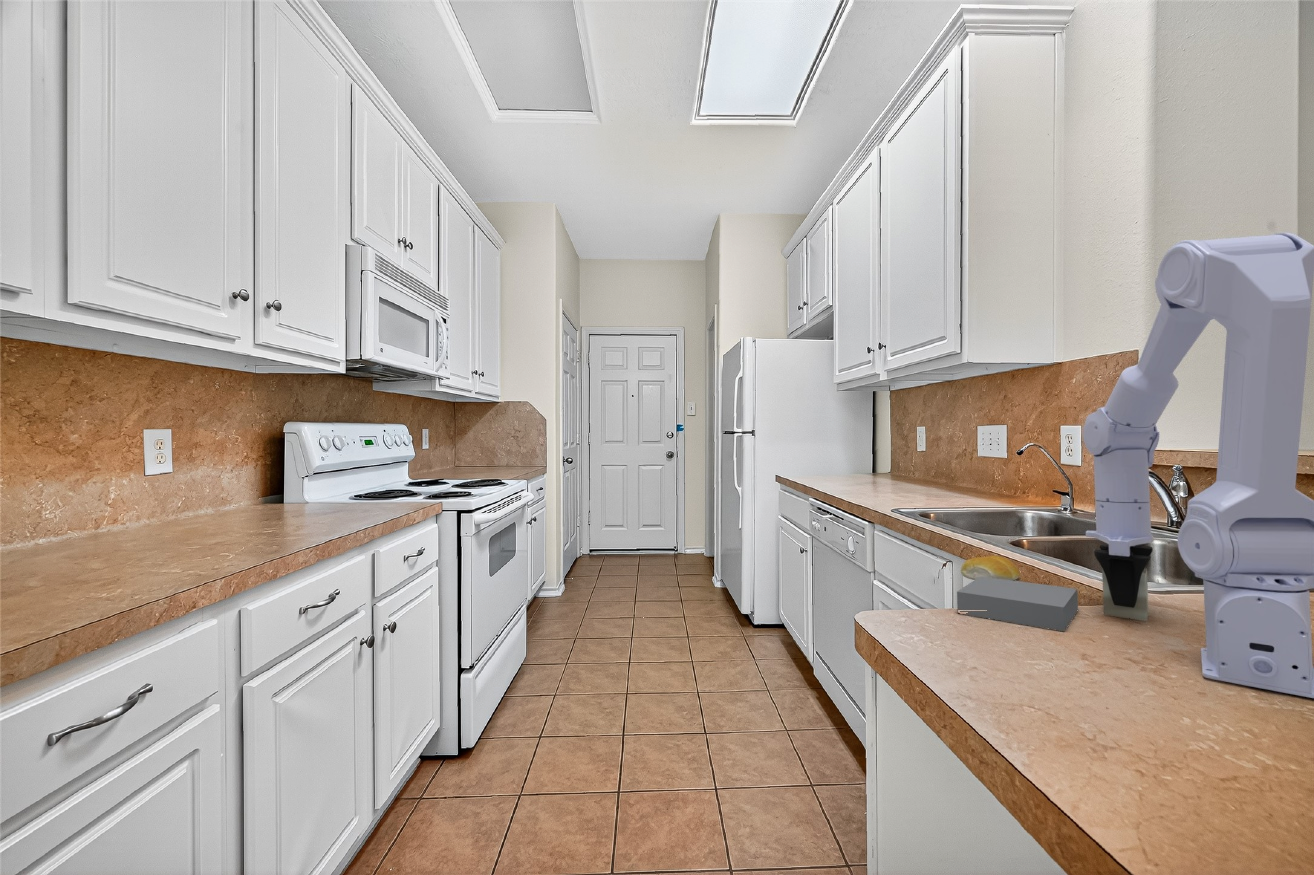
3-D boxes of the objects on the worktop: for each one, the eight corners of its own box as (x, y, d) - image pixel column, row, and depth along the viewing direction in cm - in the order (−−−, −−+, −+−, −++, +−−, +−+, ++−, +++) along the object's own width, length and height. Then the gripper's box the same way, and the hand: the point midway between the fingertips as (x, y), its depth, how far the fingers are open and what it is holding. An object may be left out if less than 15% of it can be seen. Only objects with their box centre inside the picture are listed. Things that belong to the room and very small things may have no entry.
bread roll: (1026, 578, 97) (1026, 555, 97) (1002, 586, 92) (1001, 562, 92) (977, 570, 104) (976, 549, 104) (952, 577, 99) (951, 555, 99)
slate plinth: (1064, 631, 69) (1063, 607, 69) (957, 613, 77) (956, 591, 77) (1078, 610, 77) (1077, 588, 77) (980, 596, 86) (980, 576, 86)
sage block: (1147, 621, 72) (1145, 574, 72) (1103, 614, 75) (1102, 570, 75) (1148, 613, 75) (1146, 568, 76) (1107, 607, 78) (1105, 564, 79)
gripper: (1091, 496, 84) (1094, 587, 83) (1077, 503, 73) (1081, 608, 73) (1154, 498, 79) (1157, 594, 78) (1149, 506, 68) (1153, 618, 68)
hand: (1125, 601), depth 75 cm, fingers closed on sage block, 4 cm apart
